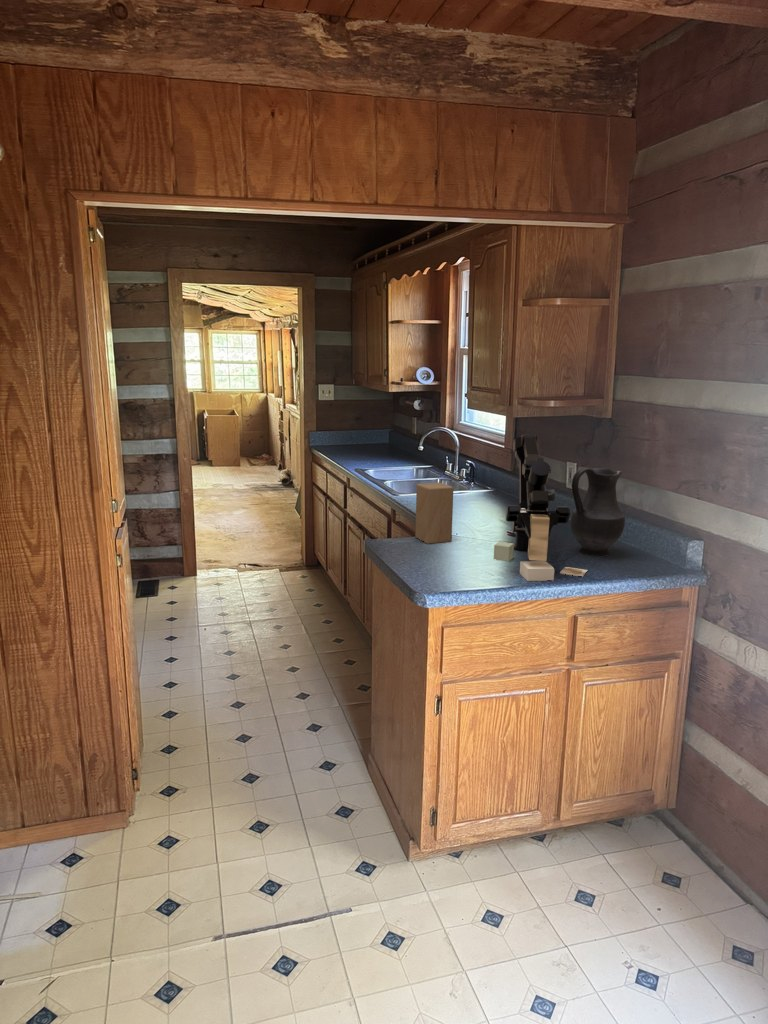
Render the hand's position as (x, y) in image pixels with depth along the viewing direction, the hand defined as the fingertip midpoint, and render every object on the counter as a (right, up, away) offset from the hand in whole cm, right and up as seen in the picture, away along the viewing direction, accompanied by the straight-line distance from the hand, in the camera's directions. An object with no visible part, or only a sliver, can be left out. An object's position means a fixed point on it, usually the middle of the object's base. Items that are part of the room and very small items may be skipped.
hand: (539, 537), depth 214 cm
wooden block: (-28, -3, +45) cm, 53 cm away
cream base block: (0, -12, +3) cm, 13 cm away
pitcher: (+24, -7, +30) cm, 39 cm away
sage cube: (-7, -8, +22) cm, 24 cm away
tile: (+12, -11, +8) cm, 18 cm away
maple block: (0, -6, +3) cm, 7 cm away
